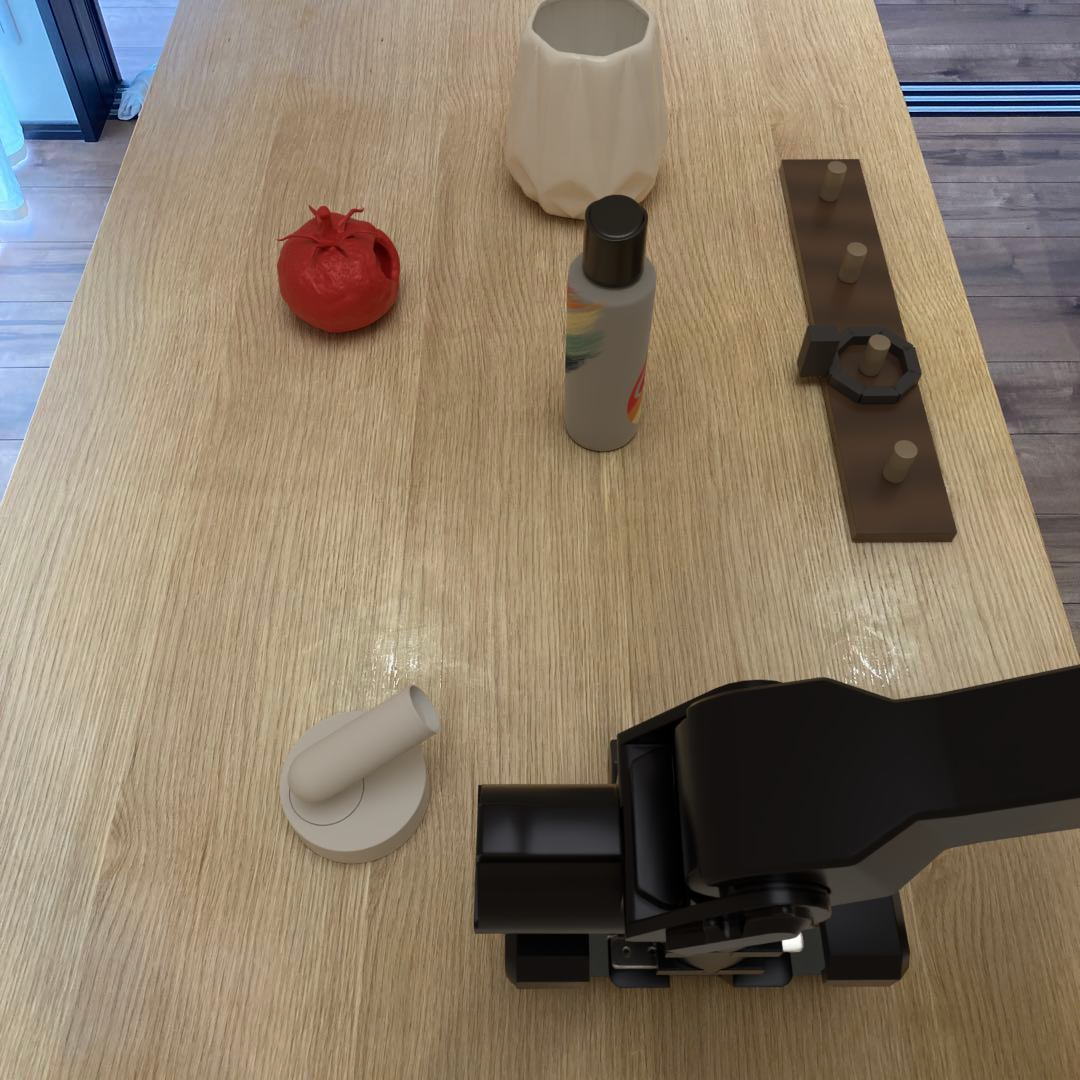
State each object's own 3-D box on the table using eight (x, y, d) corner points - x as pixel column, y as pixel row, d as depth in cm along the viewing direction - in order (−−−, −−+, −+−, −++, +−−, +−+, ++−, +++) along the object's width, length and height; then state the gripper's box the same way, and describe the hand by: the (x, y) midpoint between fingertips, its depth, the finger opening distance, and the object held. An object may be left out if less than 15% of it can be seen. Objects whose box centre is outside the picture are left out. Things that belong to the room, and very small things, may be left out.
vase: (563, 257, 88) (566, 97, 75) (477, 167, 94) (466, 6, 81) (694, 196, 92) (718, 35, 79) (603, 114, 98) (611, -48, 85)
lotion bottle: (644, 401, 79) (672, 186, 62) (631, 459, 76) (656, 250, 59) (572, 388, 80) (580, 173, 63) (556, 445, 77) (559, 235, 60)
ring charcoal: (906, 335, 81) (921, 297, 78) (924, 403, 78) (941, 367, 74) (791, 335, 81) (802, 298, 78) (804, 404, 78) (816, 368, 74)
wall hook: (461, 763, 54) (275, 839, 52) (472, 819, 62) (311, 887, 60) (406, 629, 58) (232, 694, 56) (423, 697, 66) (271, 757, 64)
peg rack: (952, 541, 72) (973, 508, 69) (852, 542, 72) (868, 509, 69) (856, 169, 94) (868, 129, 90) (779, 170, 94) (788, 129, 90)
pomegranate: (318, 367, 81) (294, 278, 73) (265, 290, 86) (237, 199, 78) (428, 317, 84) (416, 227, 76) (371, 246, 89) (354, 154, 81)
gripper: (906, 696, 48) (828, 804, 61) (502, 699, 48) (512, 806, 61) (960, 952, 42) (861, 1010, 55) (498, 955, 42) (510, 1012, 55)
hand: (681, 949), depth 57 cm, fingers closed
